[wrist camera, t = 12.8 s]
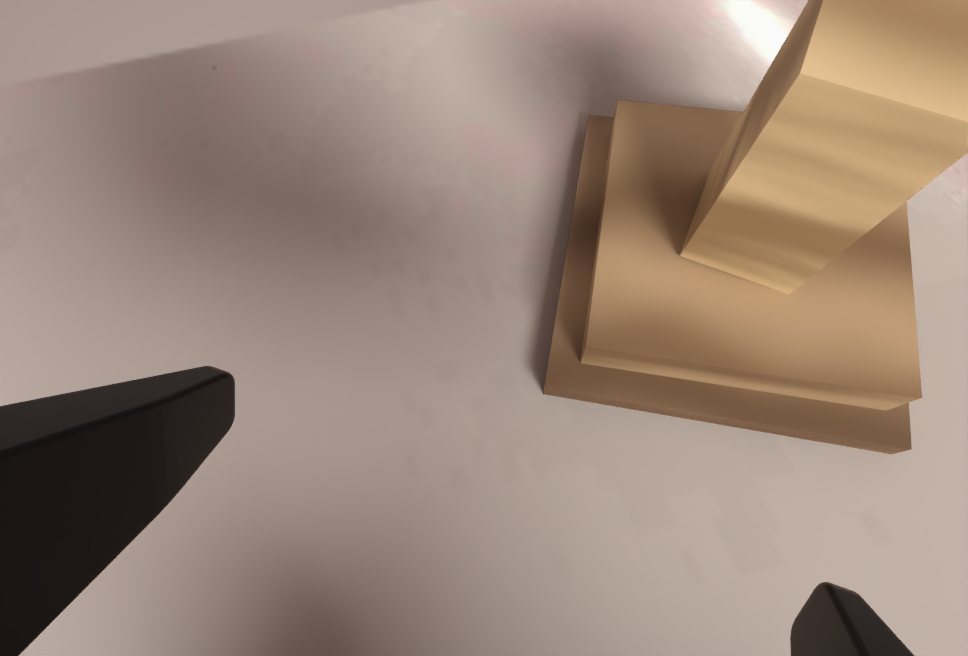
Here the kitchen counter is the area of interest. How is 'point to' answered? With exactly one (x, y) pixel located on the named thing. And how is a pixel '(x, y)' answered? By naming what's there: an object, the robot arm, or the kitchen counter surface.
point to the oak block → (835, 137)
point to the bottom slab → (673, 393)
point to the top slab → (737, 284)
